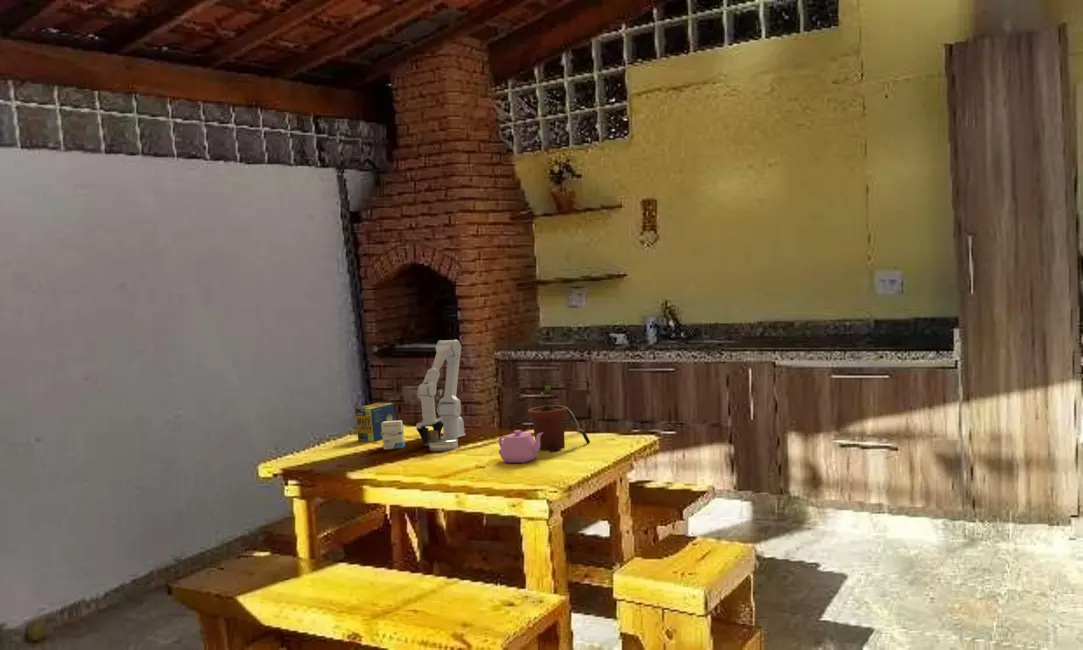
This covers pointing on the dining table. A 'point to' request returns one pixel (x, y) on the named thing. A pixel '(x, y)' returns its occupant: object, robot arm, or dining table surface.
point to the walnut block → (432, 436)
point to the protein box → (373, 420)
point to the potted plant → (551, 425)
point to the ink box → (393, 434)
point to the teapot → (519, 447)
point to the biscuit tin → (443, 444)
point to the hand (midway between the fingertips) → (431, 441)
